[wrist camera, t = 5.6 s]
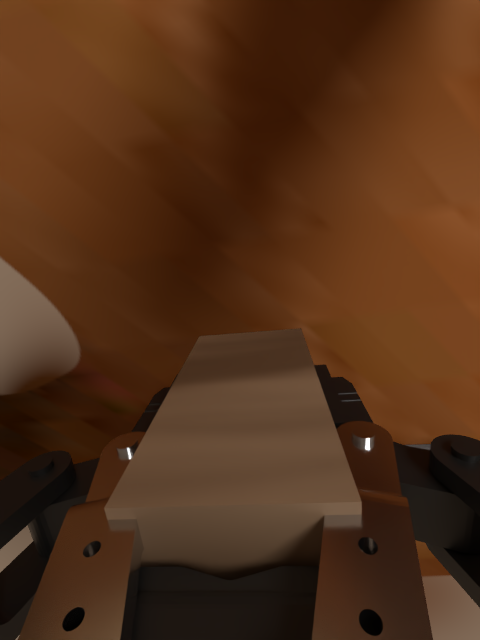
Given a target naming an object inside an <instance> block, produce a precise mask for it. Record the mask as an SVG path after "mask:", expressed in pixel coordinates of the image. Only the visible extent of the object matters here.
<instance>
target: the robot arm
mask: <svg viewBox="0 0 480 640" xmlns="http://www.w3.org/2000/svg"><path fill="white" fill-rule="evenodd" d="M314 367H315V370H316V373H317V376H318V378H319V381H320V384H321V387H322V390H323V393H324V396H325V398H326V401H327V404H328V407H329V410H330V413H331V416H332V418H333V421H334V424H335V427H336V430H337V433H338V436H339V438H340V441H341V444H342V447H343V450H344V453H345V456H346V459H347V461H348V464H349V467H350V470H351V473H352V476H353V479H354V481H355V484H356V487H357V490H358V493H359V496H360V499H361V501H362V514H359V515H325V516H324V526H323V536H322V545H321V555H320V565H319V566H281V567H277V568H274V569H270V570H267V571H263V572H260V573H256V574H253V575H249V576H246V577H242V578H239V579H235V580H225V579H222V578H218V577H215V576H212V575H208V574H205V573H202V572H198V571H195V570H192V569H188V568H185V567H140V562H141V556H142V552H143V550H144V546H143V543H142V539H141V535H140V531H139V527H138V523H137V519H118V520H107V517H106V513H105V510H104V508H105V506H106V504H107V502H108V500H109V498H110V497H111V495H112V493H113V491H114V489H115V488H116V486H117V484H118V482H119V480H120V479H121V477H122V475H123V473H124V471H125V470H126V468H127V466H128V464H129V462H130V461H131V459H132V457H133V455H134V453H135V452H136V450H137V448H138V446H139V444H140V443H141V441H142V439H143V437H144V435H145V434H146V432H147V430H148V428H149V426H150V425H151V423H152V421H153V419H154V417H155V415H156V414H157V412H158V410H159V408H160V406H161V405H162V403H163V401H164V399H165V397H166V396H167V394H168V392H169V390H170V388H171V387H172V385H173V383H174V381H175V379H176V378H177V376H178V375H177V376H176V378H175V379H174V381H173V383H172V385H171V387H168V388H163V389H162V390H161V391H159V392H158V393H157V394H155V395H154V397H153V398H152V400H151V402H150V403H149V405H148V406H147V408H146V410H145V412H144V413H143V414H142V416H141V418H140V419H139V421H138V422H137V424H136V426H135V427H134V429H133V430H132V432H130V433H126V434H124V435H121V436H119V437H117V438H115V439H114V440H112V441H111V442H110V443H108V444H107V445H106V446H105V448H104V449H103V451H102V453H101V456H100V458H97V459H93V460H90V461H86V462H82V463H78V464H74V465H73V462H72V459H71V456H70V454H69V453H68V452H65V451H52V452H48V453H45V454H42V455H39V456H37V457H35V458H33V459H31V460H30V461H28V462H27V463H25V464H24V465H22V466H21V467H19V468H18V469H17V470H15V471H14V472H12V473H11V474H10V475H8V476H7V477H5V478H4V479H3V480H1V481H0V549H1V548H2V547H3V546H4V545H6V544H7V543H8V542H9V541H10V540H11V539H12V538H13V537H15V535H17V534H18V533H19V532H20V531H21V530H22V529H23V528H24V527H26V526H27V525H28V527H29V530H30V532H31V535H32V538H33V540H34V541H33V542H32V543H31V544H30V545H29V546H28V547H27V548H26V549H25V550H24V551H23V552H22V553H20V555H18V556H17V557H16V558H15V559H14V560H13V561H12V562H11V563H10V564H9V565H8V566H7V567H6V568H5V569H4V570H3V571H2V572H1V573H0V640H15V639H16V638H17V637H18V636H19V635H20V636H19V638H18V640H433V638H432V633H431V626H430V621H429V615H428V609H427V604H426V598H425V593H424V587H423V582H422V576H421V570H420V565H419V559H418V554H417V548H416V543H415V540H417V541H421V542H425V543H426V545H427V546H428V548H429V550H430V551H431V552H432V553H433V555H434V556H435V557H436V558H437V559H438V560H439V561H440V563H441V564H442V565H443V566H444V567H445V568H446V570H447V571H448V572H449V573H450V574H451V575H452V576H453V578H454V579H455V580H456V581H457V582H458V583H459V584H460V586H461V587H462V588H463V589H464V590H465V591H466V592H467V594H468V595H469V596H470V597H471V598H472V599H473V600H474V602H475V603H476V604H477V605H478V606H479V607H480V441H479V440H476V439H473V438H470V437H466V436H461V435H442V436H439V437H436V438H435V439H434V440H433V441H432V442H431V446H430V450H428V449H422V448H416V447H410V446H405V445H402V444H398V443H396V442H393V439H392V436H391V435H390V433H389V432H388V431H387V430H385V429H384V428H382V427H381V426H379V425H377V424H374V423H373V421H372V420H371V418H370V416H369V414H368V412H367V410H366V409H365V407H364V405H363V403H362V401H361V400H360V397H359V396H358V394H357V392H356V390H355V388H354V386H353V385H352V383H350V382H349V381H347V380H346V379H344V378H343V377H333V378H331V376H330V373H329V371H328V369H327V366H326V365H314Z"/></svg>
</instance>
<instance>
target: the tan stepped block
mask: <svg viewBox="0 0 480 640" xmlns="http://www.w3.org/2000/svg"><path fill="white" fill-rule="evenodd" d="M104 510H105V513H106V517H107V520H118V519H137V523H138V527H139V531H140V535H141V539H142V543H143V546H144V550H143V552H142V556H141V562H140V567H185V568H188V569H192V570H195V571H198V572H202V573H205V574H208V575H212V576H215V577H218V578H222V579H225V580H235V579H239V578H242V577H246V576H249V575H253V574H256V573H260V572H263V571H267V570H270V569H274V568H277V567H281V566H319V565H320V555H321V545H322V536H323V526H324V516H325V515H359V514H362V501H361V499H360V496H359V493H358V490H357V487H356V484H355V481H354V479H353V476H352V473H351V470H350V467H349V464H348V461H347V459H346V456H345V453H344V450H343V447H342V444H341V441H340V438H339V436H338V433H337V430H336V427H335V424H334V421H333V418H332V416H331V413H330V410H329V407H328V404H327V401H326V398H325V396H324V393H323V390H322V387H321V384H320V381H319V378H318V376H317V373H316V370H315V367H314V364H313V361H312V358H311V356H310V353H309V350H308V347H307V344H306V341H305V338H304V336H303V333H302V330H301V328H300V329H287V330H274V331H261V332H248V333H235V334H222V335H209V336H199V338H198V340H197V342H196V343H195V345H194V347H193V349H192V351H191V352H190V354H189V356H188V358H187V360H186V361H185V363H184V365H183V367H182V369H181V370H180V372H179V374H178V376H177V378H176V379H175V381H174V383H173V385H172V387H171V388H170V390H169V392H168V394H167V396H166V397H165V399H164V401H163V403H162V405H161V406H160V408H159V410H158V412H157V414H156V415H155V417H154V419H153V421H152V423H151V425H150V426H149V428H148V430H147V432H146V434H145V435H144V437H143V439H142V441H141V443H140V444H139V446H138V448H137V450H136V452H135V453H134V455H133V457H132V459H131V461H130V462H129V464H128V466H127V468H126V470H125V471H124V473H123V475H122V477H121V479H120V480H119V482H118V484H117V486H116V488H115V489H114V491H113V493H112V495H111V497H110V498H109V500H108V502H107V504H106V506H105V508H104Z"/></svg>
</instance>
